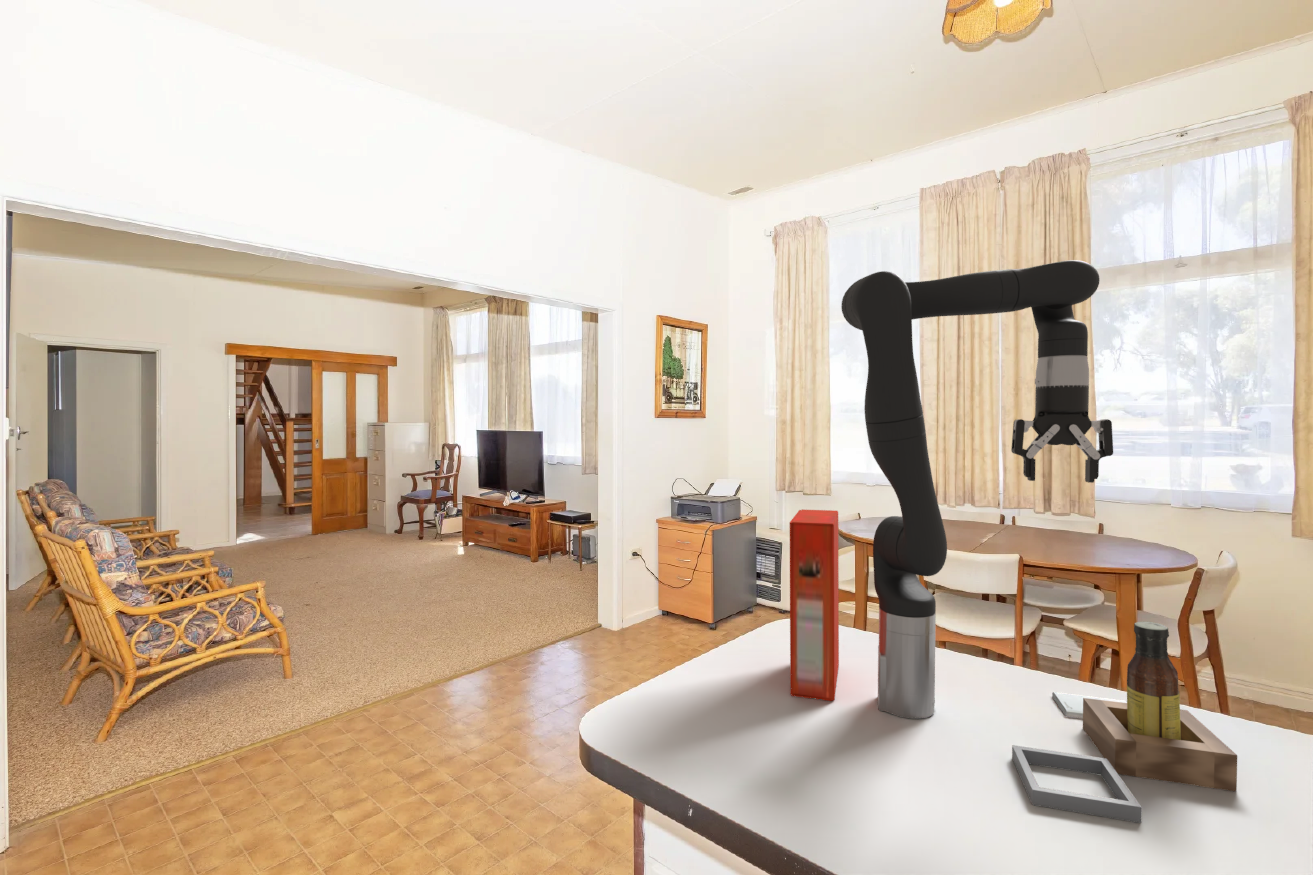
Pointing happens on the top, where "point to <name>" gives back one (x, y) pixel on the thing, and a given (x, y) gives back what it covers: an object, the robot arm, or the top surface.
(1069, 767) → the square frame
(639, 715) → the top surface
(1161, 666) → the sauce bottle
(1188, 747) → the holder
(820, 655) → the file binder
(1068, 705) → the hard drive
